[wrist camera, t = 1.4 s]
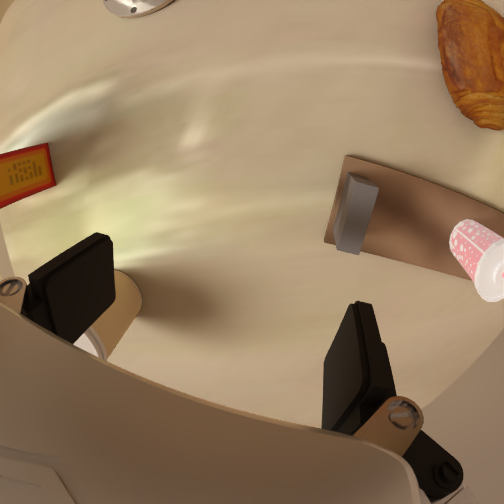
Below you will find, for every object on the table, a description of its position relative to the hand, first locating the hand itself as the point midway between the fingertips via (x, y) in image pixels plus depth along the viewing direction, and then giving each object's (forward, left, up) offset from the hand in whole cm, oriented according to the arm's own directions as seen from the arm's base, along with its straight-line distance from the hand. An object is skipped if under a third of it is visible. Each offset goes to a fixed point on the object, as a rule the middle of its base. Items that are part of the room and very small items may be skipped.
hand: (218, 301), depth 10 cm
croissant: (-20, +20, -21) cm, 35 cm away
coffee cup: (+19, -19, -21) cm, 34 cm away
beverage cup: (0, +22, -21) cm, 30 cm away
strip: (0, +17, -20) cm, 26 cm away
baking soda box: (+3, -36, -21) cm, 42 cm away
